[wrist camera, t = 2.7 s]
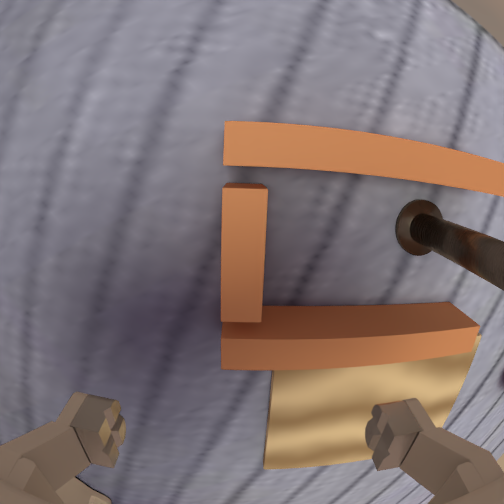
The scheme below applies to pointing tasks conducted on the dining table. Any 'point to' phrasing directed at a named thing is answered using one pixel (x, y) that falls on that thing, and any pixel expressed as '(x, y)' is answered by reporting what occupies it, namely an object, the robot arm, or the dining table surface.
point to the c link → (330, 317)
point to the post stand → (450, 241)
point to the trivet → (351, 406)
